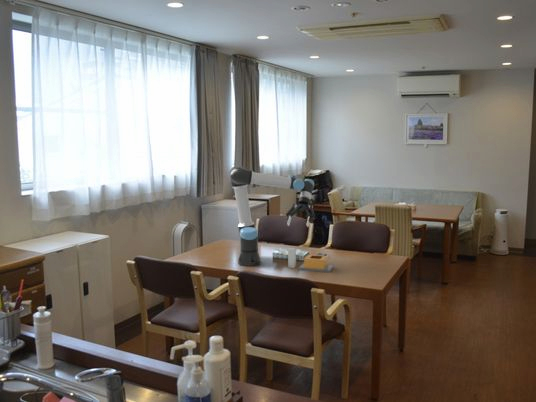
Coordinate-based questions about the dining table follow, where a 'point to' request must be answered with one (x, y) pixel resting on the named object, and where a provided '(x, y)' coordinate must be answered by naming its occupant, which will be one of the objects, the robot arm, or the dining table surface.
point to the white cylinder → (292, 257)
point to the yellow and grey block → (316, 263)
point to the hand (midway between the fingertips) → (297, 225)
